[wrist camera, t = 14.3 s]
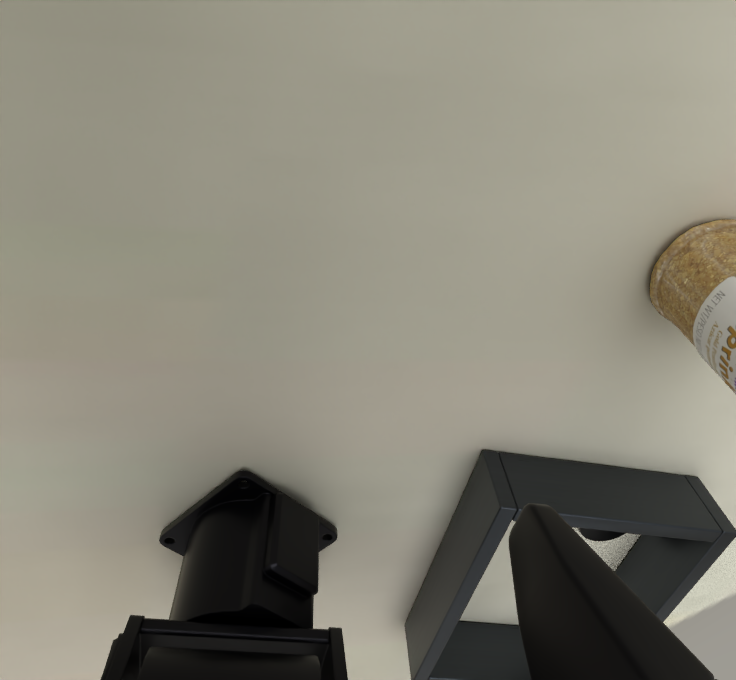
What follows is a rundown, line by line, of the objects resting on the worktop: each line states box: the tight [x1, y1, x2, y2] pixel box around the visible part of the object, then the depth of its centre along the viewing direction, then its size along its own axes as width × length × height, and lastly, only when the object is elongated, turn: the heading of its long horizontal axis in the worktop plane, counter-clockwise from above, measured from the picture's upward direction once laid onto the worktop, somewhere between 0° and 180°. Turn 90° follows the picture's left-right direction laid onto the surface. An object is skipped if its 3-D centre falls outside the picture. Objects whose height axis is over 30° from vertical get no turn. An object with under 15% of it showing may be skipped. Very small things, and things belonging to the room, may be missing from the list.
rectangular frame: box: [405, 450, 736, 680], centre depth 31 cm, size 12×15×4 cm
